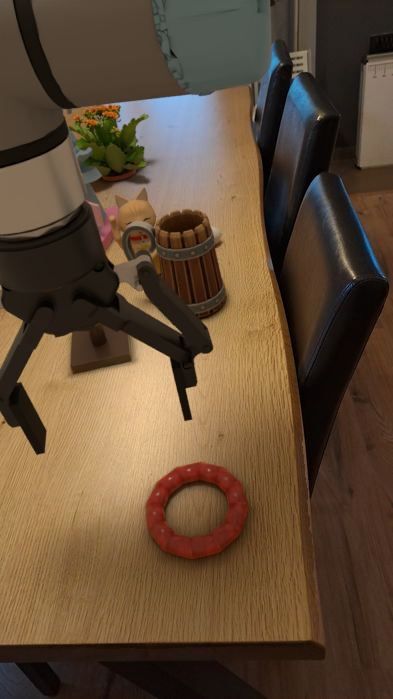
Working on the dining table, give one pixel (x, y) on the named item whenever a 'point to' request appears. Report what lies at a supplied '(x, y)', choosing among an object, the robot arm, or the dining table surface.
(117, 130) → the potted flower
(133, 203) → the figurine
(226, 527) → the ring
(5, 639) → the dining table surface
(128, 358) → the stand
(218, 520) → the dining table surface
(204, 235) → the mug
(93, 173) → the trophy
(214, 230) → the egg
